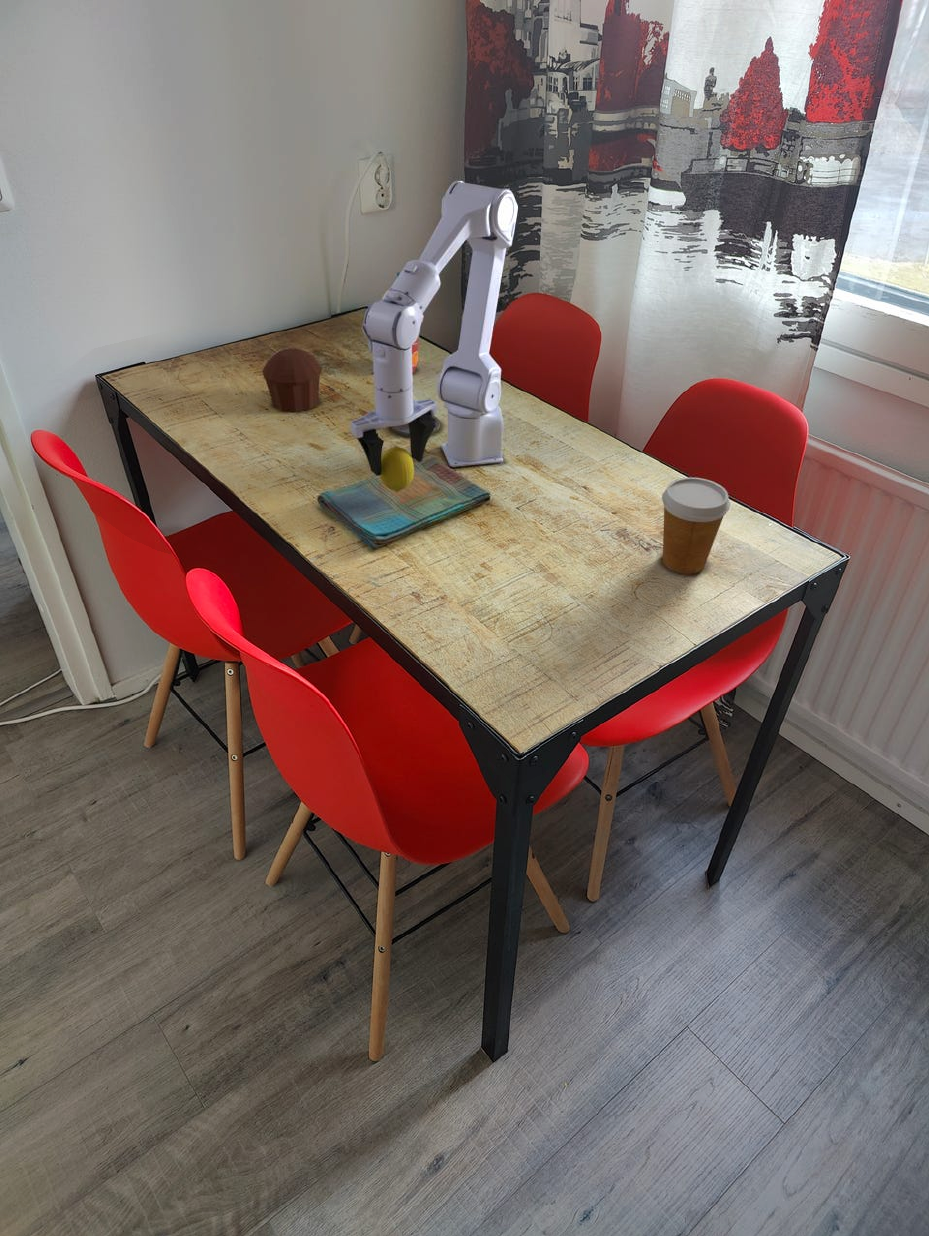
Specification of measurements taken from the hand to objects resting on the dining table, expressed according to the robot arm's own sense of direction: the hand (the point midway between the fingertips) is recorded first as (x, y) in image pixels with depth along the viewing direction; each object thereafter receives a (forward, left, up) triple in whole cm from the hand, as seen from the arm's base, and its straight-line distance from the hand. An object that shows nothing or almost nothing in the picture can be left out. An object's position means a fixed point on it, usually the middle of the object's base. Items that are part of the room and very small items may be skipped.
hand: (396, 465), depth 142 cm
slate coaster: (-8, -27, -7) cm, 29 cm away
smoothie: (-10, -53, -7) cm, 54 cm away
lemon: (0, 0, -5) cm, 5 cm away
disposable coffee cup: (-39, +25, -7) cm, 47 cm away
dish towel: (-1, 0, -7) cm, 7 cm away
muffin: (+13, -42, -7) cm, 45 cm away
